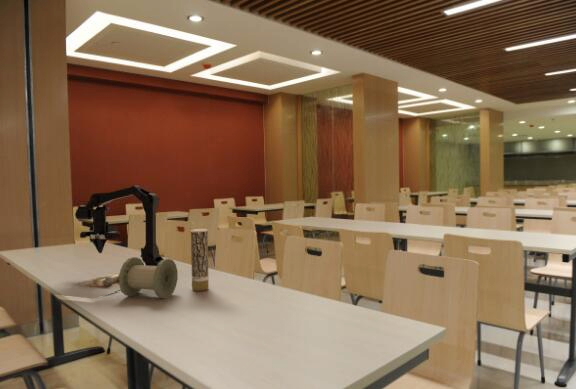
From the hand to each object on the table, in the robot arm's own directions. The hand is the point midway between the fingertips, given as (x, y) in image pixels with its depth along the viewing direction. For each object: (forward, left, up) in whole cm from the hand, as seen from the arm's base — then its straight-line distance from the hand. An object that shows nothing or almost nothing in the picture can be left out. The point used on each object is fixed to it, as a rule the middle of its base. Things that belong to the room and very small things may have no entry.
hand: (100, 253), depth 201 cm
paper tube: (-56, +4, -12) cm, 57 cm away
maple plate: (-14, +11, -10) cm, 21 cm away
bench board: (-11, +11, -12) cm, 20 cm away
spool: (-42, +19, -12) cm, 47 cm away
